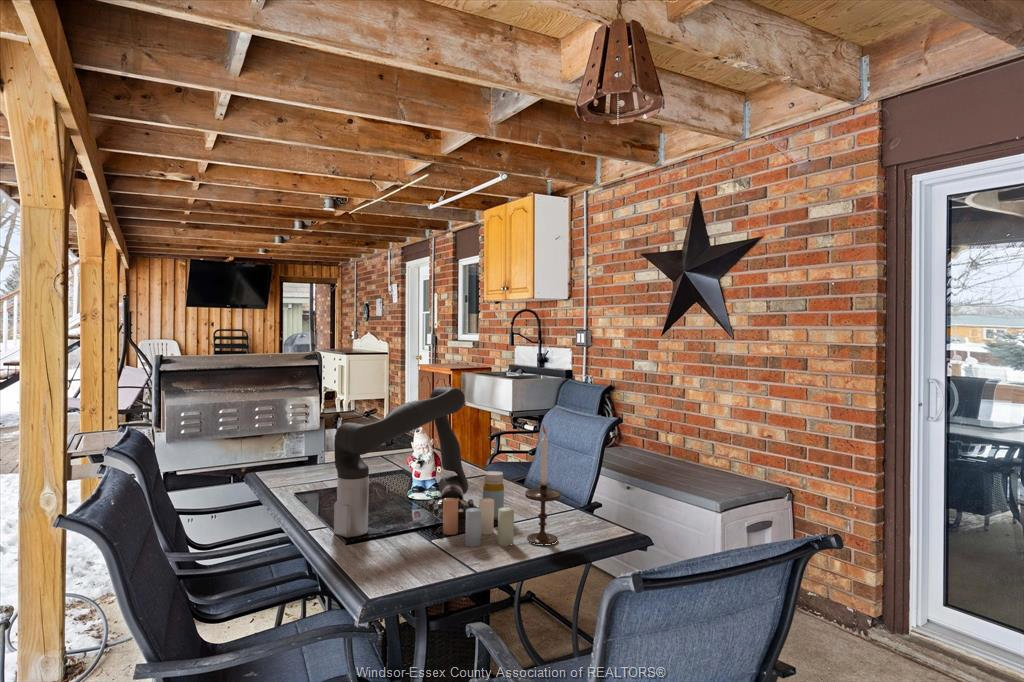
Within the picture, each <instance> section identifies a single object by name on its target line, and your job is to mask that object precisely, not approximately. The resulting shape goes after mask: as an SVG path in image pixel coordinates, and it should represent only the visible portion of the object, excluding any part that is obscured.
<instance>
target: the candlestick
mask: <svg viewBox="0 0 1024 682" xmlns="http://www.w3.org/2000/svg"><path fill="white" fill-rule="evenodd" d="M542 431H543V437H542V438H541V439H540V440H541V442H540V443H541V444H540V446H541V447H540V448H541V449H540V451H541V452H540V482H537V483H536V485H537V486H539V487H537V488H536V487H535V488H530V489H527V490H525V493H524V496H525V498H526V499H529V500H532V501H537V502H540V513H539V514H538V515H537V517H538V519H539V522H538V526H539V528H540V529H539V532H536V533H535V532H534V533H530V534H528V535H527V537H526V540H528V541H529V542H531V543H535V544H543V545H545V544H552V543H555V542H556V541H557V542H558V537H557V535H556V534H552V533H548V532H546V527H547V525H548V523H547V522H546V520H547V518H548V514H547V513H546V503H547V502H554V501H558V500H561V499H562V496H563V495H562V492H561V491H560V490H557V489H553V488H548V486H550V485H551V483H549V482H548V449H549V448H548V447H549V446H548V441H549V439H548V438H547V436H546V434H547V431H546V428H545V426H544V425H542ZM549 537H550V538H549ZM528 541H527V542H528ZM529 542H528V543H529Z"/></svg>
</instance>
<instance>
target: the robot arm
mask: <svg viewBox="0 0 1024 682" xmlns="http://www.w3.org/2000/svg"><path fill="white" fill-rule="evenodd" d="M465 397H466V396H465V394H464V392H463V391H462V390H461V389H460V388H457V387H454V386H437V387H435V388H433V389H432V391H431V393H430V398H426V399H418V400H411V401H408V402H405V403H403V404H400V405H398V406H395V407H394V408H391V410H389V411H388V412H387V414H386V415H385V417H384V418H382V419H380V420H377V421H375V422H371V423H367V424H362V423H356V422H355V423H354V422H344V423H342V424H340V425H339V426H338V428H337V430H336V431H335V435H334V442H333V443H334V447H333V448H334V466H335V469H336V472H337V483H336V484H337V486H336V487H337V492H336V493H337V494H336V495H337V496H336V497H337V498H336V501H334V503H333V504H334V506H333V512H334V513H333V516H334V517H333V534H335V535H337V536H340V537H343V538H350V537H359V536H363V535H365V534H367V533H368V531H369V487H370V486H369V483H370V482H369V479H370V476H369V474H370V473H369V472H370V471H369V465H367V463H366V462H364V460H363V459H362V457H361V456H362V455H367V454H368V453H370V452H372V451H374V450H375V449H376V448H379V447H380V446H382V445H383V444H385V443H387V442H389V441H391V440H394V439H396V438H398V437H400V436H403V435H405V434H408V433H410V432H412V431H414V430H417V429H418V428H420V427H422V426H425V425H427V424H429V423H431V422H433V421H434V425H435V428H436V432H437V436H438V441H439V448H440V458H441V468H442V469H443V470H444V471H446V472H447V471H448V472H453V473H455V474H456V475H447V476H442V477H441V478H440V480H439V482H438V490H439V493H440V494H441V495H440V499H439V500H438V501H436V500H435V499H434V498H431V499H430V500H429V502H428V512H429V513H432V512H433V514H434V515H435V516H438V515H439V513H443V500H444V499H447V498H456V499H458V513H462V514H463V516H466V509H469V508H475V507H474V500H473V499H472V498H470V499H468V500H467V501H465V500H464V495H465V494H466V493H467V492H468V490H469V482H468V479H467V477H466V475H465V471H464V468H463V466H462V465H463V464H462V457H461V455H462V454H461V447H460V443H459V441H458V437H457V436H456V434H455V432H454V430H453V428H452V425H451V424H450V421H449V417H448V415H452V414H456V413H458V412H459V411H460V410H461V409H462V408H463V406H464V405H465V399H466V398H465Z"/></svg>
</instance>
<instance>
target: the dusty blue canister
mask: <svg viewBox="0 0 1024 682" xmlns="http://www.w3.org/2000/svg"><path fill="white" fill-rule="evenodd" d="M481 514H482V510H481V509H479V507H474V508H469V509H466V515H465V527H464V528H465V531H464V533H465V535H464V537H465V539H464V545H465V546H466V547H468V546H469V548H477V547H476V546H478V547H480V546H481V545H482V534H481Z"/></svg>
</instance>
